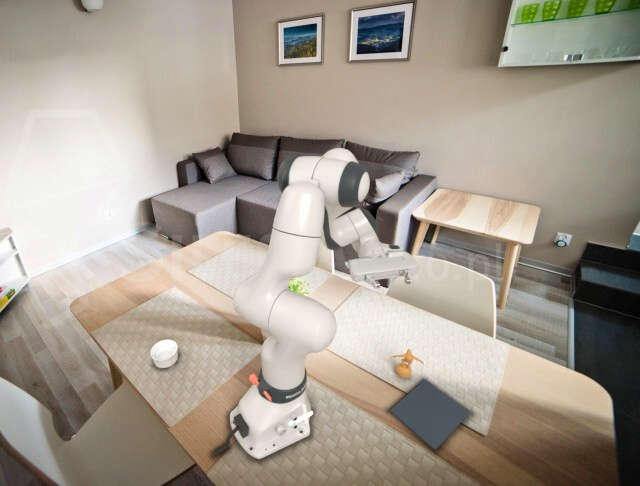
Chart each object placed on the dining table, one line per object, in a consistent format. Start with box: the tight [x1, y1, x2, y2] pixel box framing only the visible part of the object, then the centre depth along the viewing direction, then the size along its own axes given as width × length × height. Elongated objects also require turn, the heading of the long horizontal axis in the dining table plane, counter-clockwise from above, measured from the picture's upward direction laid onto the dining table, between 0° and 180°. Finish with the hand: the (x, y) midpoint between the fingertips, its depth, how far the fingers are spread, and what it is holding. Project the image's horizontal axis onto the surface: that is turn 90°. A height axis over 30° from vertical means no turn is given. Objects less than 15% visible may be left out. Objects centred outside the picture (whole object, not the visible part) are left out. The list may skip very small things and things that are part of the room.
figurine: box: [390, 348, 425, 379], centre depth 93 cm, size 8×6×12 cm
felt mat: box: [389, 379, 471, 451], centre depth 86 cm, size 16×12×1 cm
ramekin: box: [149, 339, 179, 369], centre depth 108 cm, size 9×9×4 cm
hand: (393, 285), depth 95 cm, fingers open, 8 cm apart
